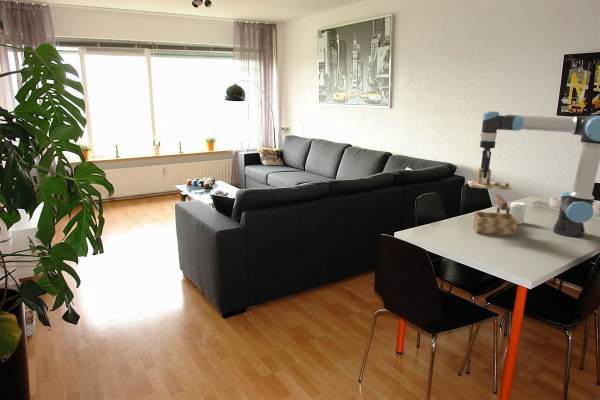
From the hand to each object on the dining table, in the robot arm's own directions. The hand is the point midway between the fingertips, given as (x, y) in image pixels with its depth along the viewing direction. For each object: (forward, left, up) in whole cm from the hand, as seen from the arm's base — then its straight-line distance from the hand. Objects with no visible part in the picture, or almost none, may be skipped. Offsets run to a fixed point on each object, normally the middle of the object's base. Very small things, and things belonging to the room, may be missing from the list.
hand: (483, 182), depth 244 cm
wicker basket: (-8, -3, -27) cm, 29 cm away
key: (-14, -21, -17) cm, 30 cm away
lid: (-3, 0, -2) cm, 3 cm away
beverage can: (-24, -23, -28) cm, 43 cm away
